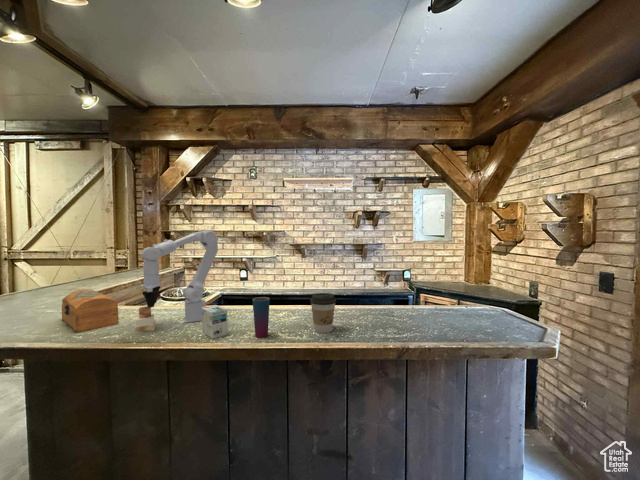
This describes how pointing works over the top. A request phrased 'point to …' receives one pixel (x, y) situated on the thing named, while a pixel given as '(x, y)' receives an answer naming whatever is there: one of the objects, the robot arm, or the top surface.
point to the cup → (261, 316)
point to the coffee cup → (323, 311)
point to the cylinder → (144, 312)
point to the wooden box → (89, 310)
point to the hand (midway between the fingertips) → (152, 305)
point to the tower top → (145, 321)
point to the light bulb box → (214, 321)
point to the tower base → (145, 328)
